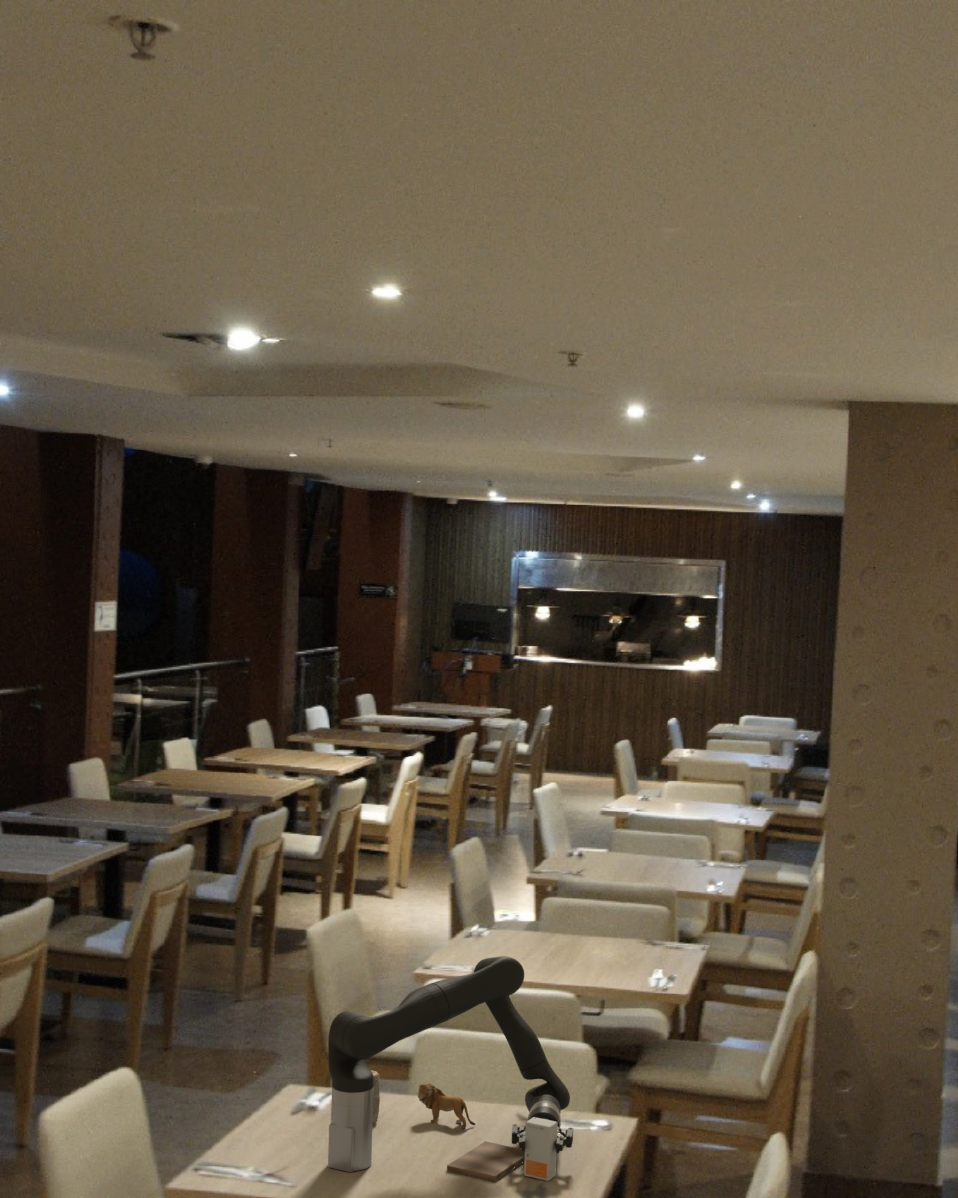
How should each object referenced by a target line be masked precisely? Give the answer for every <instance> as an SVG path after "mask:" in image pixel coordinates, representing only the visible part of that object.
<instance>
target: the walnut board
mask: <svg viewBox="0 0 958 1198" xmlns="http://www.w3.org/2000/svg"><path fill="white" fill-rule="evenodd" d="M524 1159H525V1151H521V1149H520V1148H519V1147H518V1148H517V1147H514V1146H507V1145H503V1144H499V1143H494V1142H490V1141H484V1142H482V1143H480V1144H479V1145H477V1146H476V1147H474V1148H472V1149H471V1150H469V1151H468V1152H465V1154H463V1155H462V1156H460V1157H458V1158H457V1159H455V1160H453V1161H452V1162H450V1163H448V1164H447V1165H446V1171H447V1172H451V1173H455V1174H459V1175H464V1176H469V1177H473V1178H477V1179H481V1180H486V1181H491V1182H494V1183H495V1182H497V1181H499V1180H500V1179H501V1178H503V1177H504V1176H506V1175H507V1174H509V1173H510V1172H511V1171H510V1170H512V1169H513V1168H514V1167H516V1168H518V1167H519V1166H520V1165H522V1164H523V1163H524ZM522 1162H523V1163H522ZM521 1163H522V1164H521ZM519 1164H520V1165H519ZM518 1165H519V1166H518ZM514 1169H515V1168H514ZM514 1169H513V1170H514ZM513 1170H512V1171H513ZM509 1171H510V1172H509ZM508 1172H509V1173H508ZM503 1175H504V1176H503ZM502 1176H503V1177H502Z"/></svg>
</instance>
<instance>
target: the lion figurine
mask: <svg viewBox="0 0 958 1198" xmlns="http://www.w3.org/2000/svg"><path fill="white" fill-rule="evenodd" d="M417 1093H418V1094H417V1098H418V1099H419V1100H418V1101H419V1102H421V1103H422V1104H423V1105H425V1108H427V1110H431V1113H432V1119H431V1120H430V1123H431V1122H432V1123H431V1124H435V1123H437V1121H438V1120H439V1119H440V1118H439V1117H440V1111H443V1112H446V1113H447V1112H451V1111H453V1113H454V1114H455V1116H456V1118H458V1119H456V1121H455V1123H457V1124H461V1123H462V1124H461V1125H460V1129H462V1128H464V1129H466V1128H467V1122H466V1119H467V1121H468V1122H469V1124H470V1125H471V1126H476V1123H475V1122H474V1121H473V1120H471V1119H470V1116H469V1112H468V1107H467V1104H466V1102H465V1101H464V1099H463V1098H462V1097H460V1096H449V1095H446V1094H444V1092H443V1091H442V1090H441V1089H439V1088H438V1087H436V1086H435V1085H433V1084H431V1083H428V1082H423V1083H421V1084H419V1085H418V1092H417ZM463 1113H465V1116H466V1117H465V1116H464V1115H463Z"/></svg>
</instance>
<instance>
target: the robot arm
mask: <svg viewBox="0 0 958 1198" xmlns="http://www.w3.org/2000/svg"><path fill="white" fill-rule="evenodd" d="M524 979H525V969H524V967H523V965H522V964H521V962H520V961H518V960H517V959H515V958H513V957H510V956H502V955H501V956H496V957H486V958H483V959H481V960H480V961H478V962H477V964H476V965H475V967H474V970H473V972H471V973H468V974H464V975H457V976H454V977H449V978H444V979H440V980H437V981H434V982H432V983H429V984H426V985H424V986H420V987H419V988H416V989H414V990H413V991H410V992H409V993H408V994H407V995H406V996H405V997H404V998H403V1000H402V1001H401V1002H400V1003H399V1005H398V1006H397V1007H396V1008H394V1009H392V1010H390V1011H387V1012H384V1013H382V1014H379V1015H375V1016H366V1015H363V1014H361V1013H358V1012H356V1011H351V1010H345V1011H342V1012H339V1013H338V1014H337V1015H336V1016H335V1017H334V1018H333V1020H332V1021H331V1024H330V1027H329V1030H328V1041H327V1043H328V1044H327V1047H328V1050H327V1051H328V1071H329V1072H328V1073H329V1075H330V1077H331V1102H330V1103H331V1104H330V1105H331V1106H330V1107H331V1108H330V1112H331V1113H330V1124H329V1125H328V1150H327V1152H328V1153H327V1155H328V1157H327V1161H328V1162H327V1168H331V1169H334V1170H340V1171H343V1172H348V1173H353V1172H355V1171H363V1170H365V1169H368V1168H369V1167H370V1166H371V1165H372V1157H373V1156H372V1155H373V1124H372V1122H373V1088H374V1076H373V1073H372V1072H371V1070H372V1069H370V1068H369V1066H368V1065H367V1063H366V1060H367V1059H370V1058H371V1057H374V1056H376V1055H378V1054H379V1053H381V1052H383V1051H385V1050H386V1049H388V1048H390V1047H392V1046H394V1045H395V1044H396V1043H398V1042H401V1041H402V1040H404V1039H407V1038H410V1037H412V1036H414V1035H417V1034H418V1033H421V1032H423V1031H425V1030H428V1029H431V1028H434V1027H437V1026H438V1025H441V1024H443V1023H445V1022H448V1021H450V1020H452V1019H454V1018H456V1017H457V1016H459V1015H461V1014H464V1013H466V1012H467V1011H470V1010H471V1009H473V1008H475V1007H477V1006H479V1005H482V1004H484V1003H485V1004H486V1006H487V1008H488V1009H489V1012H490V1013H491V1015H492V1017H493V1018H494V1020H495V1021H496V1023H497V1025H498V1027H499V1028H500V1030H501V1033H502V1034H503V1035H504V1037H505V1039H506V1041H507V1044H508V1045H509V1048H510V1050H511V1053H512V1055H513V1057H514V1058H513V1059H514V1060H515V1063H516V1065H517V1067H518V1071H519V1072H520V1075H521V1076H522V1078H523V1079H525V1080H527V1081H528V1080H529V1081H533V1080H543V1081H545V1082H544V1083H542V1084H540V1085H537V1086H535V1087H532V1088H529V1090H527V1092H526V1093H525V1095H524V1101H525V1106H526V1109H527V1110H528V1112H529V1113H528V1116H527V1117H528V1118H527V1121H528V1120H530V1119H531V1118H533V1117H536V1118H541V1119H547V1120H551V1121H555V1122H558V1126H557V1142H556V1154H560V1152H562V1151H563V1150H564V1149H563V1148H564V1147H566V1148H568V1149H570V1148H572V1147H573V1143H574V1142H573V1141H574V1128H573V1127H568V1128H567V1129H565V1130H562V1128H561V1126H562V1123H561V1122H562V1118H561V1113H562V1110H565V1109H567V1108H568V1107H569V1105H570V1101H571V1095H570V1091H569V1089H568V1088H567V1086H566V1085H565V1083H564V1082H563V1080H561V1078H560V1077H559V1076H558V1075H557V1074H556V1071H554V1069H553V1068H552V1065H550V1063H549V1061H548V1058H547V1056H546V1054H545V1051H544V1049H543V1046H542V1043H541V1041H540V1040H539V1038H538V1036H537V1035H536V1033H535V1032H534V1030H533V1029H532V1028H531V1026H530V1025H529V1024H528V1022H527V1021H526V1020H525V1019H524V1018H523V1017H522V1016H521V1014H520V1013H519V1012H518V1010H517V1009H516V1007H515V1006H514V1004H513V1002H512V1000H511V999H512V998H511V997H510V996H512V995H513V994H515V993H516V992H518V991H519V990H520V989H521V987H522V986H523V983H524V982H525V981H524ZM525 1133H526V1125H525V1126H524V1127H521V1126H519V1125H518V1124H517V1123H513V1124H512V1127H511V1144H512V1145H517V1144H518V1148H519V1149H521V1151H525Z"/></svg>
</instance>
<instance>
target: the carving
mask: <svg viewBox="0 0 958 1198" xmlns="http://www.w3.org/2000/svg"><path fill="white" fill-rule="evenodd" d="M370 1070H371V1072H372V1073H373V1076H374V1088H373V1122H372V1125H375V1124H376V1123H377V1122H378V1119H379V1113H380V1103H381V1102H380V1101H381V1100H380V1099H381V1097H380V1081H381V1079H380V1074H379V1072H378V1071H376V1070H372V1069H370Z"/></svg>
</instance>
